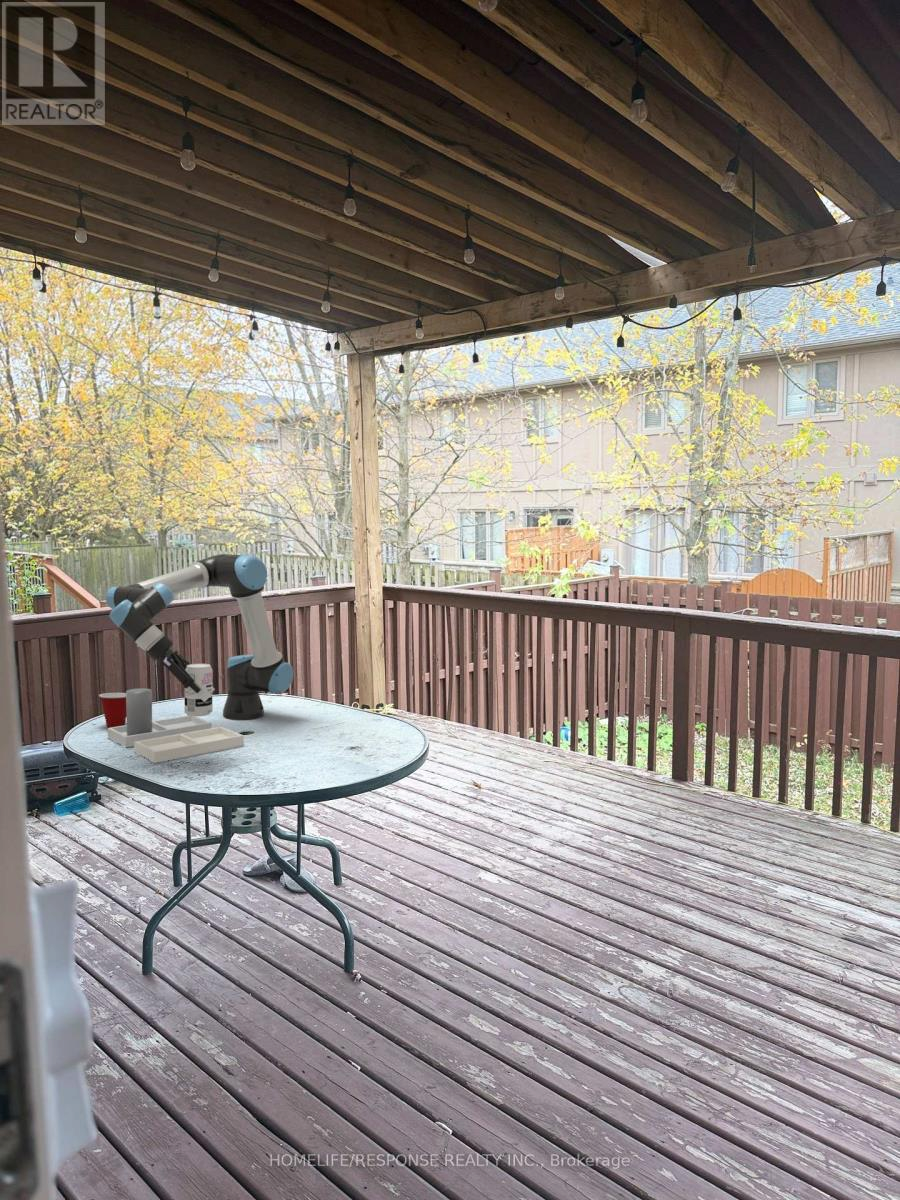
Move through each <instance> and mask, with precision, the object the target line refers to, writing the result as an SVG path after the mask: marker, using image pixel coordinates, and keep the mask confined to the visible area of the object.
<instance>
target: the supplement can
mask: <svg viewBox="0 0 900 1200" xmlns="http://www.w3.org/2000/svg"><path fill="white" fill-rule="evenodd" d="M185 670H186V672H187V673H188V674H189V675H190V676H191V678H192V679H193V680H194V681H195V680H196V681H197V682H198V683H199V684H200V685H201V686H202V687H203V688H204V689H205V690H206V691H207V692H208V693H209V694H210V695H211V696H210V697H209V698H208V699H207V700H206V701H205V702H204V701H203V700H202V699H201V698H199V697H198V696H197V695H196V694H195V693H194V692H193V691H192V690H191V689H190V688H189V687H188V688H187V689H186V688H184V713H185V714H186V716H196V717H204V716H209V715H211V713H213V696H214V695H213V693H214V691H213V688H214V686H213V684H214V683H213V680H214V679H213V678H214V677H213V676H214V675H213V674H214V673H213V668H212V666H211V664H209V663H190V665H187V667H186V669H185Z"/></svg>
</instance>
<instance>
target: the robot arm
mask: <svg viewBox="0 0 900 1200" xmlns="http://www.w3.org/2000/svg"><path fill="white" fill-rule="evenodd" d="M267 570H268V569H267V567H266V565H265V563H264V562H263V560H262V559H261V558H259V557H257V556H254V555H249V554H227V553H226V554H225V553H223V554H221V553H220V554H215V555H211V556H209V557H206V558H203V559H199V560H196V561H193V562H191V563H190V564H189V566H187V567H185V568H184V567H183V568H181V569H177V570H174V571H171V572H168V573H165V574H162V575H159V576H156V577H155V576H154V577H153V578H149V579H146V580H143V581H140V582H136V583H133V584H129V585H126V586H120V585H119V586H113V587H111V588H110V589H108V590H107V592H106V595H105V603H106V605H107V606H108V607H109V608H110V609H111V612H110V613H109V618H110V619H111V620H112V622H113V623H114V624H115V625H116V627H117V628H119V629H121V631H122V632H124V634H125V635H126V636H128V637H129V638H130V639H131V640H132V642H134V643H136V647H137V648H141V649H142V650H143V651H146V654H147V655H148V657H150V658H151V659H152V660H153V661H157V660H159V658H161V659H162V662H161V664H162V665H163V666H164V667H165V668H166V669H167V670H168V671H169V672H171V674H172V675H173V676H174V677H175V678H176V679H177V680H178V681H179V682H180V684H181V685H182V686H183V688H184V689H185V688H186V689H187V688H188V687H189V688H190V689H191V690H192V691H193V692H194V693H195V694H196V695H197V696H198V697H199V698H201V699H202V700H203V701H204V702H205V701H206V700H207V699H208V698H209V697H210V696H211V695H210V694H209V693H208V692H207V691H206V690H205V689H204V688H203V687H202V686H201V685H200V684H199V683H198V682H197V681H196V680H195V681H194V680H193V679H192V678H191V676H190V675H189V674H188V673H187V672H186V670H185V669H186V667H187V665H190V664H191V662H189V661H188V660H187V659H186V658H185V657H183V656H182V655H181V654H180V653H179V651H178V650H174V651H173V650H172V649H171V647H173V646H174V643H173V641H172V640H171V639H170V638H169V637H167V636H166V635H164V632H163V631H162V630H161V629H159V628H158V627H157V626H156V624H154V623H153V622H152V621H151V620H153V619H154V618H155V617H157V616H158V615H159V614H160V613H161V612H163V611H164V610H166V609H167V607H168V606H170V604H171V603H172V602H173V601H174V596H175V595H178V594H181V593H183V592H187V591H190V590H193V589H205V588H208V587H220V588H222V587H223V588H228V589H229V592H230V595H231V598H233V599H235V600H237V603H238V608H239V611H240V614H241V617H242V621H243V624H244V629H245V631H246V635H247V638H248V642H249V646H250V650H251V653H252V654H251V653H250V654H241V655H235V656H230V657H229V658H228V660H227V667H226V672H227V673H226V681H227V695H226V696H227V697H226V699H225V703H224V707H223V709H222V717H223V718H224V719H229V720H235V719H237V721H239V720H242V721H243V720H244V719H245V720H254V719H257V718H258V717H259V718H261V717H263V716H264V714H265V710H264V705H263V701H262V700H261V699H262V698H261V696H260V692H265V693H270V694H283V693H285V692H287V690H288V689H289V688H290V687H291V684H292V681H293V678H294V669H293V665H292V664H291V663H289V662H286V661H285V659H284V657H283V654H282V652H280V651H278V650H277V647H276V643H275V639H274V636H273V633H272V629H271V628H272V627H271V625H270V620H269V617H268V613H267V610H266V606H265V602H264V599H263V595H262V593H263V592H264V589H265V585H266V582H267V577H268V571H267ZM215 690H216V689H215V688H214V687H213V692H214V691H215ZM245 720H244V721H245Z"/></svg>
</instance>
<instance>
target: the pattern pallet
mask: <svg viewBox="0 0 900 1200" xmlns="http://www.w3.org/2000/svg"><path fill="white" fill-rule="evenodd" d="M125 693H126V711H127V717H126V724H125V725H124V726H118V727H112V728H107V739H108V738H109V739H108V740H110V739H111V740H110V741H112V740H113V741H112V742H114V741H115V742H114V743H116V742H117V743H116V744H118V743H119V744H121V745H123V746H125V747H128V746H133V747H134V742H136V741H142V740H147V739H153V738H159V737H165V736H170V735H176V734H182V733H188V732H193V731H199V730H205V729H211V728H213V724H212V723H213V722H211V721H208V720H206V719H204V718H200V716H188V715H182V716H177V717H176V716H175V717H169V718H163V719H156V720H153V690H152V689H151V688H146V687H143V688H142V687H141V688H131V689H127V690H126V692H125ZM119 744H118V745H119ZM121 745H120V746H121ZM123 746H122V747H123ZM125 747H124V748H125ZM128 748H129V747H128Z"/></svg>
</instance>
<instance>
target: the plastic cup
mask: <svg viewBox="0 0 900 1200" xmlns="http://www.w3.org/2000/svg"><path fill="white" fill-rule="evenodd" d="M98 696H99V698H100V701H101V705H102V711H103V714H104V718H105V724H106V728H107V729H108V728H112V727H118V726H124V725H126V723H127V711H126V692H106V693H100V694H98Z"/></svg>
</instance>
